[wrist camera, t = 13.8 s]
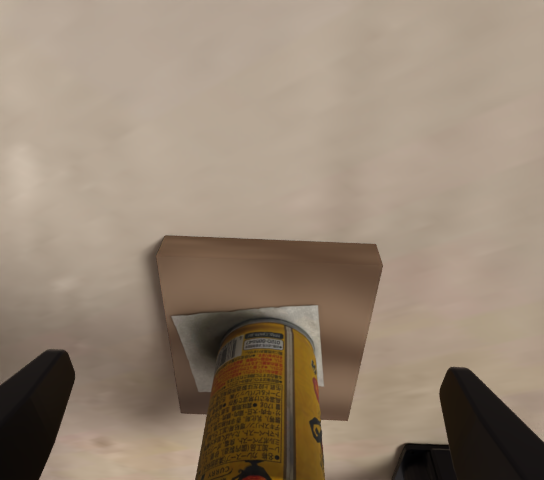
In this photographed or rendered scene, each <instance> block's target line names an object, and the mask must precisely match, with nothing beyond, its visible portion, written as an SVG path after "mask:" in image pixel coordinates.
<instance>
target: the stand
mask: <svg viewBox="0 0 544 480" xmlns="http://www.w3.org/2000/svg"><path fill="white" fill-rule="evenodd" d="M156 260H157V266H158V272H159V279H160V285H161V291H162V298H163V304H164V310H165V316H166V323H167V329H168V335H169V341H170V348H171V354H172V360H173V367H174V373H175V379H176V385H177V392H178V398H179V404H180V411H181V413H187V414H207V412H208V406H209V401H210V395H211V392H199V391H198V388H197V385H196V382H195V378H194V376H193V374H192V370H191V368H190V364H189V360H188V359H187V356H186V353H185V349H184V347H183V344H182V342H181V339H180V336H179V334H178V331H177V328H176V326H175V325H174V322H173V319H172V317H171V316H181V315H193V314H199V313H216V312H234V311H238V310H248V309H260V308H270V307H274V308H280V307H288V306H313V305H318V314H319V326H320V341H321V354H322V368H323V381H324V387H322V386H318V387H319V407H320V412H321V415H320V417H321V420H341V421H348V417H349V413H350V409H351V404H352V400H353V395H354V391H355V387H356V382H357V378H358V373H359V369H360V365H361V360H362V356H363V351H364V347H365V342H366V338H367V334H368V329H369V325H370V320H371V316H372V312H373V307H374V303H375V298H376V294H377V289H378V285H379V281H380V276H381V272H382V267H383V264H382V261H381V258H380V255H379V252H378V249H377V246H376V244H359V243H334V242H310V241H286V240H262V239H238V238H214V237H190V236H165V237H164V239H163V242H162V244H161V246H160V248H159V250H158V253H157V255H156Z"/></svg>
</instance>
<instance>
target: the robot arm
mask: <svg viewBox="0 0 544 480" xmlns="http://www.w3.org/2000/svg"><path fill="white" fill-rule="evenodd" d="M74 380H75V371H74V368H73V366H72V363H71V360H70V358H69V355H68V353H67V352H66V351H65V350H58V349H49V350H46V351H45V352H43V353H42V354H40V355H39V356H38V357H37V358H35V359H34V360H33V361H31V362H30V363H29V364H27V365H26V366H25V367H24V368H22V369H21V370H20V371H18V372H17V373H16V374H14V375H13V376H12V377H11V378H9V379H8V380H7V381H5V382H4V383H3V384H1V385H0V480H39V478H40V476H41V474H42V471H43V469H44V467H45V464H46V462H47V460H48V458H49V455H50V453H51V450H52V448H53V445H54V443H55V440H56V437H57V434H58V431H59V428H60V425H61V422H62V418H63V415H64V412H65V409H66V406H67V403H68V400H69V397H70V393H71V390H72V387H73V384H74ZM439 395H440V402H441V407H442V412H443V417H444V422H445V428H446V433H447V438H448V443H449V446H430V445H406V446H405V447H404V449H403V451H402V454H401V457H400V459H399V462H398V465H397V467H396V470H395V472H394V475H393V478H392V480H544V442H543V441H542V440H541V439H540V438H539V437H538V436H537V435H536V434H535V433H534V432H533V431H532V430H531V429H530V428H529V427H528V426H527V425H526V424H525V423H524V422H523V421H522V420H521V419H520V418H519V417H518V416H517V415H516V414H515V413H514V412H513V411H512V410H511V409H509V408H508V407H507V406H506V405H505V404H504V403H503V402H502V401H501V400H500V399H499V398H498V397H497V396H496V395H495V394H494V393H493V392H492V391H491V390H490V389H489V388H488V387H487V386H486V385H485V384H484V383H483V382H482V381H481V380H480V379H479V378H478V377H477V376H476V375H475V374H474V373H473V372H472V371H471V370H469V369H468V368H464V367H450V368H449V369H448V370H447V373H446V375H445V377H444V380H443V382H442V385H441V387H440V393H439Z"/></svg>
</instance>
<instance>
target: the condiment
mask: <svg viewBox="0 0 544 480" xmlns="http://www.w3.org/2000/svg"><path fill="white" fill-rule="evenodd" d="M171 317H172V319H173V322H174V325H175V326H176V328H177V331H178V334H179V336H180V339H181V342H182V344H183V347H184V349H185V353H186V356H187V359H188V360H189V364H190V368H191V370H192V374H193V376H194V378H195V382H196V385H197V388H198V391H199V392H211V395H210V401H209V406H208V412H207V417H206V423H205V429H204V435H203V440H202V446H201V451H200V457H199V462H198V468H197V474H196V478H195V480H325V473H324V459H323V458H324V456H323V445H322V430H321V424H320V423H321V417H320V415H321V412H320V407H319V387H318V386H322V387H324V381H323V368H322V354H321V341H320V326H319V314H318V305H313V306H288V307H280V308H274V307H270V308H260V309H248V310H238V311H234V312H216V313H199V314H193V315H181V316H171Z"/></svg>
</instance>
